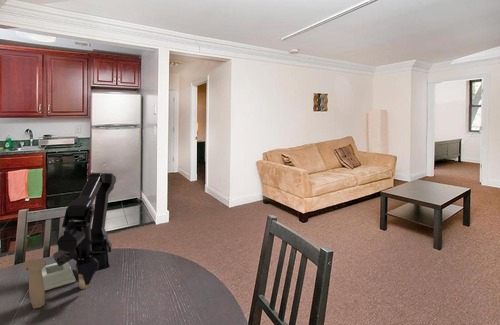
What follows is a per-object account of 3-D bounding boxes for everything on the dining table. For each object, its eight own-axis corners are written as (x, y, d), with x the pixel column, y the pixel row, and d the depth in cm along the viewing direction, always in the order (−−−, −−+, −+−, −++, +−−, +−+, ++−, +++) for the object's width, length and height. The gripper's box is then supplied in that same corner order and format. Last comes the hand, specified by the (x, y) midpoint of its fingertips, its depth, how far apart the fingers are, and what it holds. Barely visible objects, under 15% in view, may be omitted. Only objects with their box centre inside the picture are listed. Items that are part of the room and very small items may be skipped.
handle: (36, 299, 95) (32, 257, 93) (53, 302, 94) (49, 260, 92) (22, 309, 91) (18, 265, 88) (40, 312, 90) (36, 268, 87)
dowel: (89, 282, 106) (87, 262, 104) (91, 286, 103) (89, 266, 102) (78, 285, 104) (77, 265, 102) (80, 290, 101) (79, 269, 100)
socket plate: (70, 268, 114) (69, 258, 114) (75, 281, 106) (74, 270, 106) (36, 278, 107) (35, 266, 107) (39, 292, 99) (37, 280, 98)
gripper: (50, 234, 102) (54, 274, 105) (58, 255, 88) (61, 300, 91) (85, 227, 109) (88, 265, 112) (97, 245, 95) (100, 288, 98)
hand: (84, 278), depth 103 cm, fingers open, 9 cm apart
